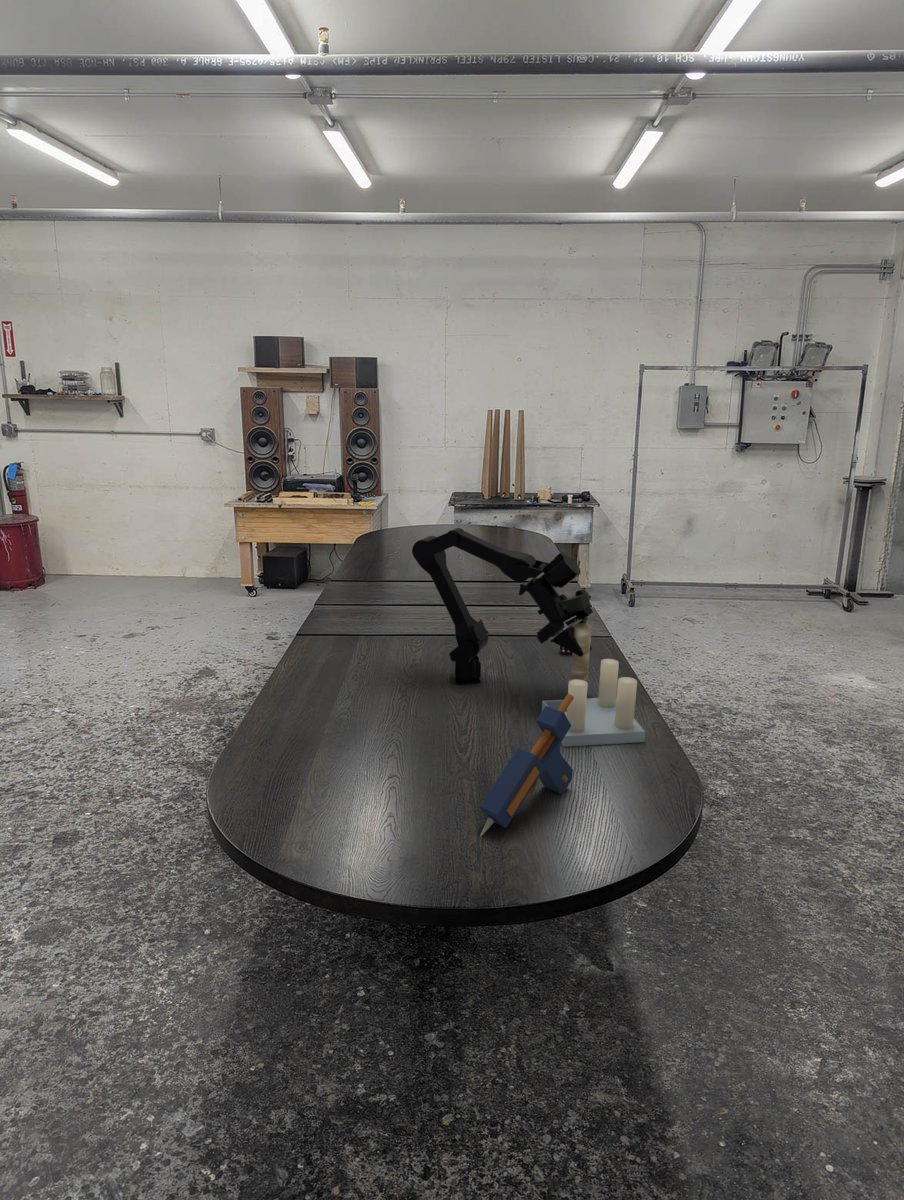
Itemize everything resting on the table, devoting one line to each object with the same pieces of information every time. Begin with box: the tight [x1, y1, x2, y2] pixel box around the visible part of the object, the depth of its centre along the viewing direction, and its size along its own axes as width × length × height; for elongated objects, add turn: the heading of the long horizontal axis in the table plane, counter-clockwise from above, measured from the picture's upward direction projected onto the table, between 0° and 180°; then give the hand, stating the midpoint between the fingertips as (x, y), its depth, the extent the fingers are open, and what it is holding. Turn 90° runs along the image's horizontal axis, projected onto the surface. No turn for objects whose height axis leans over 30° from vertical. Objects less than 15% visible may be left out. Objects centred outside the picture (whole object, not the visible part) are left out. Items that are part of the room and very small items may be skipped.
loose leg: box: [570, 623, 593, 681], centre depth 174 cm, size 4×4×13 cm
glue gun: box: [479, 693, 574, 837], centre depth 135 cm, size 6×31×15 cm
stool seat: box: [541, 658, 646, 748], centre depth 165 cm, size 18×18×13 cm
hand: (586, 653), depth 173 cm, fingers closed on loose leg, 4 cm apart
